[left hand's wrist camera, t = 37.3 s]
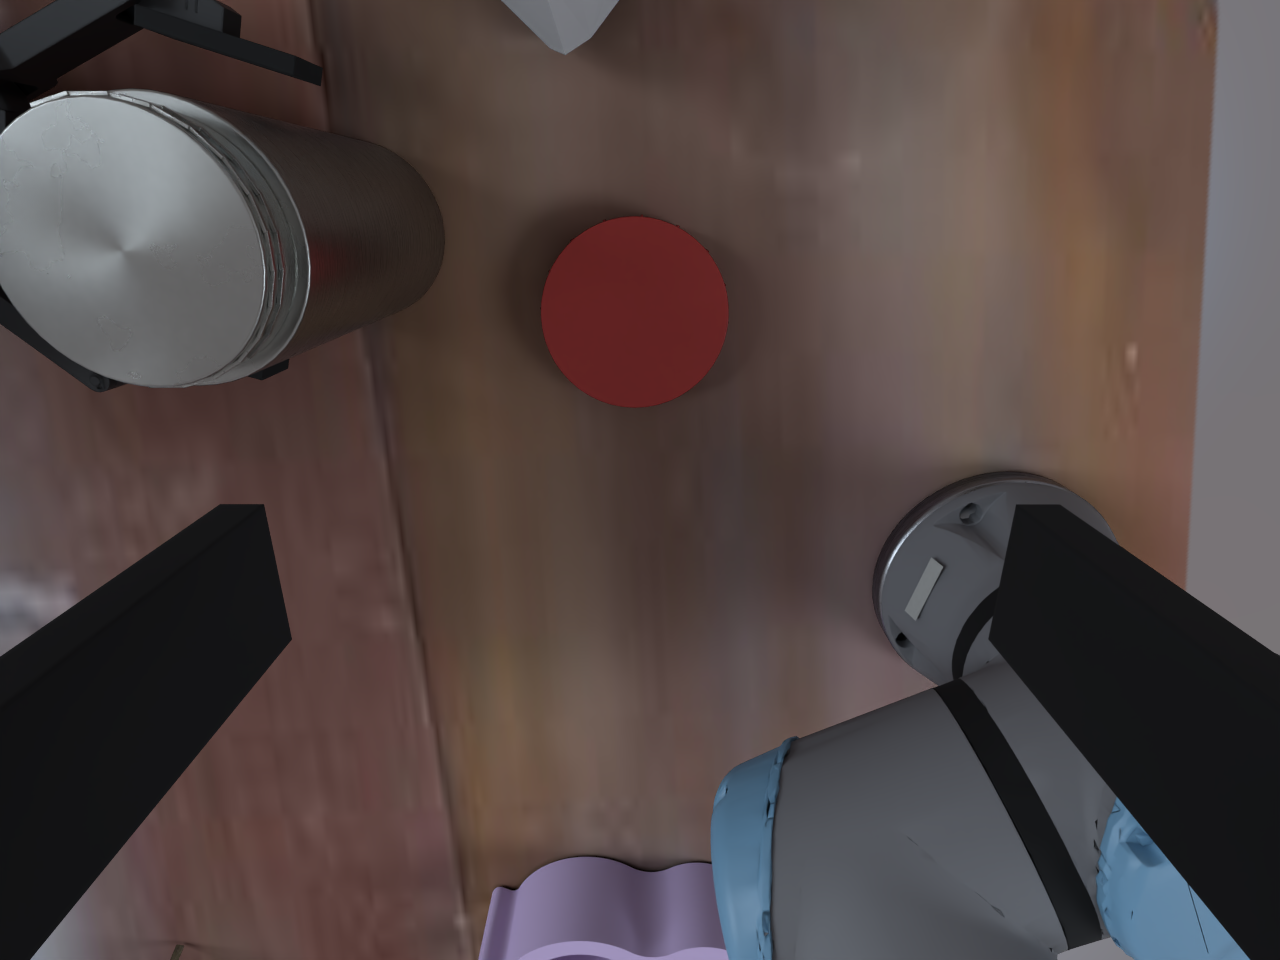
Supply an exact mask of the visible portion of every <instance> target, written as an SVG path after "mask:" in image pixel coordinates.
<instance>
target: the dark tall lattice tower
mask: <svg viewBox="0 0 1280 960" xmlns="http://www.w3.org/2000/svg"><path fill="white" fill-rule="evenodd" d="M183 948H184V945H176V947H175V950H174V952H173V955H172V957H171V959H170V960H179V957H180V955H181V953H182V950H183Z"/></svg>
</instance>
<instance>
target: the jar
mask: <svg viewBox="0 0 1280 960" xmlns="http://www.w3.org/2000/svg"><path fill="white" fill-rule="evenodd" d="M29 104H30V106H31V107H32V108H30V109H29V110H27V111H26V112H24V113H23V114H21V115H19V116H18V117H16V118H15V119H14V120H13V121H12V122H11V123H10V124H9V125H8V126H7V127H6V128H5V129H4V130H3V131H2V133H1V134H0V285H1V287H2V289H3V291H4V292H5V294H6V295H7V297H8V298H9V300H10V301H11V303H12V304H13V306H14V307H15V308H16V310H17V311H18V312H19V313H20V315H21V316H22V317H23V318H24V320H25V321H26V322H27V323H28V324H29V325H30V326H31V327H32V328H33V329H34V330H35V331H36V332H37V333H38V334H39V335H40V336H41V337H42V338H43V339H44V340H45V341H47V342H48V343H49V344H50V345H51V346H52V347H54V348H55V349H56V350H57V351H59V352H60V353H62V354H63V355H65V356H66V357H68V358H69V359H71V360H72V361H74V362H76V363H77V364H79V365H81V366H83V367H85V368H86V369H88V370H90V371H93V372H95V373H97V374H100V375H102V376H104V377H107V378H110V379H114V380H117V381H120V382H123V383H128V384H134V385H139V386H147V387H149V388H185V387H189V386H192V385H200V386H202V385H217V384H222V383H227V382H232V381H236V380H238V379H241V378H244V377H247V376H249V375H252V374H254V373H256V372H259V371H261V370H263V369H266V368H268V367H270V366H273V365H275V364H277V363H280V362H282V361H284V360H287V359H289V358H291V357H294V356H296V355H298V354H301V353H303V352H305V351H308V350H310V349H312V348H315V347H317V346H319V345H322V344H324V343H326V342H329V341H331V340H333V339H335V338H338V337H340V336H342V335H345V334H347V333H349V332H352V331H354V330H356V329H359V328H361V327H363V326H366V325H368V324H370V323H373V322H375V321H377V320H380V319H382V318H384V317H387V316H389V315H391V314H394V313H396V312H398V311H401V310H403V309H405V308H407V307H408V306H410V305H412V304H413V303H415V302H416V301H417V300H419V299H420V298H421V297H422V296H423V295H424V294H425V293H426V292H427V290H428V289H429V288H430V286H431V285H432V284H433V282H434V280H435V278H436V276H437V274H438V272H439V269H440V266H441V263H442V259H443V254H444V244H445V241H444V227H443V221H442V217H441V213H440V210H439V207H438V205H437V202H436V200H435V197H434V196H433V194H432V192H431V190H430V188H429V187H428V185H427V184H426V182H425V181H424V180H423V178H422V177H421V176H420V175H419V174H418V172H417V171H416V170H415V169H414V168H413V167H412V166H411V165H410V164H408V163H407V162H406V161H405V160H404V159H402V158H401V157H399V156H398V155H396V154H395V153H393V152H391V151H389V150H388V149H386V148H384V147H381V146H378V145H376V144H373V143H369V142H365V141H361V140H357V139H353V138H349V137H345V136H341V135H337V134H333V133H329V132H324V131H320V130H316V129H312V128H308V127H304V126H300V125H296V124H292V123H288V122H284V121H280V120H276V119H272V118H268V117H263V116H259V115H255V114H251V113H247V112H243V111H239V110H235V109H231V108H227V107H223V106H219V105H215V104H211V103H206V102H202V101H198V100H194V99H190V98H186V97H182V96H178V95H174V94H169V93H165V92H160V91H155V90H148V89H134V88H130V89H117V90H110V91H63V92H60V93H57V94H54V95H51V96H48V97H45V98H42V99H39V100H37V101H34V102H31V103H29Z"/></svg>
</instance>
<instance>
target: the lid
mask: <svg viewBox="0 0 1280 960" xmlns="http://www.w3.org/2000/svg"><path fill="white" fill-rule="evenodd" d="M679 227H680V226H678V225H676V226H674V225H673V224H670V223H668V222H665V221H662V220H659V219H655V218H650V217H643V215H641V216H626V217H619V218H614V219H610V220H607V221H606V219H605V220H603V222H602V223H599V224H597V225H595V226H593V227H591V228H589V229H587V230H586V231H584V232H583V233H581V234H580V235H578V236H577V237H576V238H573V239H571V240H570V241H571V242H570V243H569V244H568V245H567V246H566V247H565V249H564V250H563V251H562V252H561V253H560V255H559V256H558V258H557V259H556V261H555V262H554V264H553V266H552V268H551V269H550V270H549V274H548V277H547V279H546V283H545V286H544V289H543V295H542V301H541V308H540V309H541V322H542V329H543V334H544V338H545V341H546V344H547V347H548V349H549V352H550V354H551V356H552V358H553V360H554V361H555V363H556V365H557V366H558V367H559V369H560V370H561V372H562V373H563V374H564V375H565V376H566V377H567V378H568V379H569V381H570V382H572V383H573V384H574V385H575V386H576V387H577V388H579V389H580V390H581V391H583V392H585V393H586V394H588V395H589V396H591V397H593V398H595V399H597V400H599V401H602V402H605V403H608V404H611V405H616V406H621V407H632V408H637V407H649V406H654V405H659V404H662V403H665V402H668V401H670V400H672V399H675V398H677V397H679V396H681V395H682V394H684V393H685V392H687V391H689V390H690V389H691V388H692V387H694V386H695V385H696V384H697V383H698V382H699V381H700V380H701V379H702V378H703V377H704V376H705V375H706V374H707V373H708V371H709V370H710V368H711V367H712V366H713V364H714V363H715V361H716V359H717V357H718V355H719V353H720V351H721V348H722V346H723V343H724V340H725V336H726V332H727V327H728V318H729V308H728V298H727V292H726V288H725V286H726V285H725V283H724V281H723V278H722V276H721V274H720V271H719V269H718V267H717V265H716V264H715V262H714V260H713V259H712V257H711V256H710V254H709V253H708V252H709V251H708V250H707V249H705V248H704V247H703V246H702V245H701V244H700V243H699V242H698V241H697V240H696V239H695V238H693V237H692V236H691V235H689V234H688V233H687V232H685V231H684V230H682V229H680V228H679Z"/></svg>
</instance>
